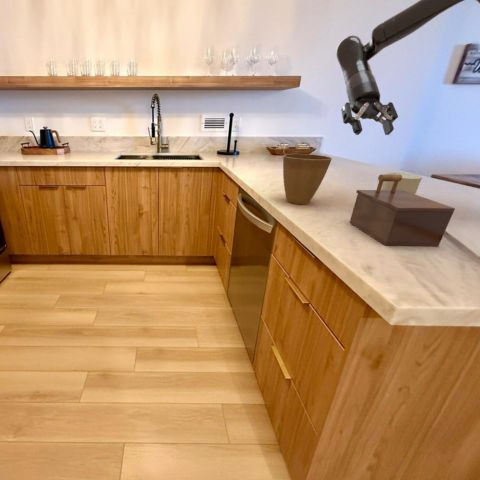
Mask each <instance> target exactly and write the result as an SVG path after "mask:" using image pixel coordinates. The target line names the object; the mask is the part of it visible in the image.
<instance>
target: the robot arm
mask: <svg viewBox="0 0 480 480" xmlns="http://www.w3.org/2000/svg"><path fill="white" fill-rule="evenodd" d="M463 1H464V2H465V0H417V2H415V3H413V4H412V5H410V6H408V7H406V8H405V9H403V10H402V11H400V12H398V13H396V14H395V15H393V16H391V17H390V18H388V19H386V20H384V21H383V22H381V23H380V24H378V25H376V26H375V27H373V29H372V30H371V31H370V32H371V33H370V39H369V40H368V41H367V42H366V43H365V44H363V41H362V40H361V37H359V36H358V35H348V36H346V37H344V38H343V39H342V40H341V41H340V42H339V43H338V44H337V47H336V50H335V56H336V59H337V62H338V65H339V67H340V69H341V71H342V75H343V80H344V83H345V90H346V95H347V100H348V101H347V102H345V104H344V105H343V107H341V110H340V111H341V117H342V122H343V124H344V125H347V124H349V125H350V126H351V128H352V132H353V133H354V135H355V136H359V135H360V134H361V133H362V132H363V126H362V123H361V120H360V118H361V119H362V120H366V119H368V120H373V121H375V122H376V123H377V122H378V123H380V124H381V125H382V129H383V133H384V135H385V136H389V135H390V134H392V132H393V131H394V130H395V128H394V125H393V123H394V122H395V121H396V120H397V119H398V118H399V115H398V113H397V112H398V111H397V110H396V108H395V105H394V103H393V102H391V101H390V102H387V104H383V103H382V102H381V92H380V89H379V86H378V83H377V81H376V77H375V76H374V74H373V71H372V68H371V65H370V63H369V61H370V60H371V59H372V58H374V57H375V56H377V55H378V54H379V53H380V52H381V51H383V50H384V49H386V48H388V47H389V46H391V45H394V44H395V43H397V42H399V41H401V40H403V39H404V38H406V37H408V36H410V35H411V34H414V33H415V32H416V31H418V30H419V29H421V28H422V27H423V26H425V25H426V24H428V23H430V22H431V21H432V20H433V19H434V18H436V17H437V16H439V15H440V14H443V13H444V12H446V11H447V10H449V9H451V8H452V7H454V6H456V5H458V4H460V3H462V2H463ZM475 1H476V2H477V3H479V4H480V0H475ZM353 113H354V114H355V115H354V116H353ZM379 114H380V115H379ZM378 115H379V116H378Z"/></svg>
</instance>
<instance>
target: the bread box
mask: <svg viewBox="0 0 480 480" xmlns="http://www.w3.org/2000/svg"><path fill="white" fill-rule="evenodd" d="M453 214H454V212H435V211H396V210H394V209H391V208H389V207H387V206H385V205H382V204H380V203H378V202H376V201H374V200H371V199H369V198H367V197H365V196H362V195H360V194H358V193H357V195H356V198H355V202H354V205H353V209H352V213H351V216H350V219H349V224H350V223H351V224H350V225H352V226H354V227H355V226H356V227H355V228H357V229H358V228H359V229H358V230H360V231H361V230H362V232H363V233H364V234H366V233H367V234H366V235H367V236H369V235H370V236H369V237H371V238H372V237H373V238H372V239H374V240H375V241H377V242H378V243H380V244H382V245H383V246H385V247H389V246H390V247H399V246H400V247H439V246H440V244H441V241H442V240H443V237H444V235H445V233H446V230H447V228H448V226H449V223H450V222H451V219H452V216H453Z"/></svg>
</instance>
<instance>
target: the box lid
mask: <svg viewBox="0 0 480 480" xmlns="http://www.w3.org/2000/svg"><path fill="white" fill-rule="evenodd" d="M377 177H378V178H377V181H378V183H377V187H376V189H357V190H356V194H357V195H358V194H360V195H362V196H365V197H367V198H369V199H371V200H374V201H376V202H378V203H380V204H382V205H385V206H387V207H389V208H391V209H394V210H396V211H435V212H453V213H454V212H455V210H456V208H455V207H452V206H449V205H446V204H444V203H441V202H438V201H435V200H432V199H429V198H427V197H424V196H420V195H418V194H412V193H409V192H407V191H404V190H396V188H397V185H398V182H399V181H401V180H402V175H385V174H379V175H378V176H377ZM383 181H394V184H393V187H392V190H381V187H382V184H383Z"/></svg>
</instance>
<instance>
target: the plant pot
mask: <svg viewBox="0 0 480 480" xmlns="http://www.w3.org/2000/svg"><path fill="white" fill-rule="evenodd" d="M332 159H333V158H332V157H330V156H328V155H327V156H326V155H321V154H320V155H319V154H311V153H310V154H309V153H287V154H284V155H283V161H282V175H283V176H282V177H283V187H284V194H285V199H286V201H287V202H288V203H290V204H294V205H308V204H310V202H311V201H312V200H313V197H314V196H315V195H316V193H317V191H318V189H319V188H320V186H321V184H322V183H323V180H324V178H325V177H326V174H327V173H328V169H329V167H330V165H331V162H332Z"/></svg>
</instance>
